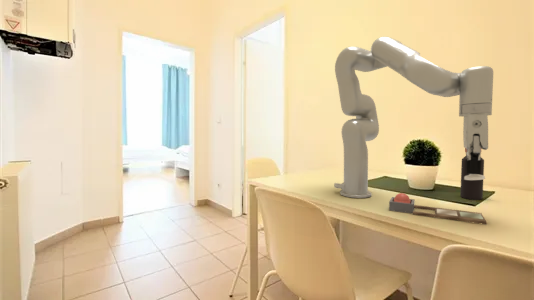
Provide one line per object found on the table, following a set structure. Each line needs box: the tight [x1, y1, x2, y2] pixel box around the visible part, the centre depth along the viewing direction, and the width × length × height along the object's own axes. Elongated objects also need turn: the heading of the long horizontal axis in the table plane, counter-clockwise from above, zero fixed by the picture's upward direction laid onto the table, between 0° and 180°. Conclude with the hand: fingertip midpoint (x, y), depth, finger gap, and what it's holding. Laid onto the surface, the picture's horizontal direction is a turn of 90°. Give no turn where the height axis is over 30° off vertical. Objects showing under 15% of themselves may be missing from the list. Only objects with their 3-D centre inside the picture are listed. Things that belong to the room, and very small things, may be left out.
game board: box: [412, 204, 487, 225], centre depth 82 cm, size 18×9×1 cm, turn 58°
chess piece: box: [464, 145, 486, 180], centre depth 77 cm, size 5×5×10 cm
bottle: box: [460, 148, 485, 201], centre depth 101 cm, size 7×7×20 cm
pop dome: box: [394, 192, 411, 203], centre depth 88 cm, size 5×5×5 cm
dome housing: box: [388, 196, 416, 215], centre depth 88 cm, size 7×7×3 cm
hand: (472, 172), depth 77 cm, fingers closed on chess piece
